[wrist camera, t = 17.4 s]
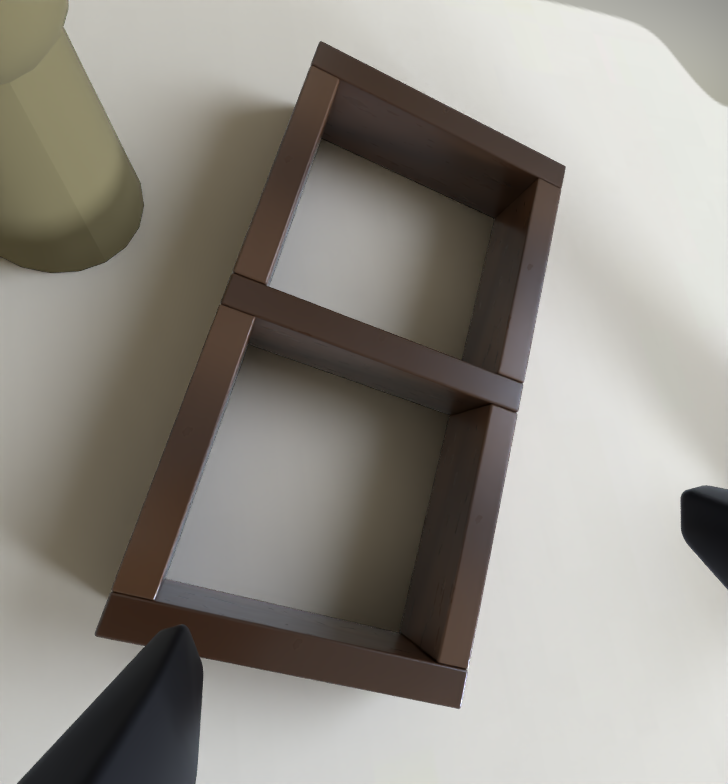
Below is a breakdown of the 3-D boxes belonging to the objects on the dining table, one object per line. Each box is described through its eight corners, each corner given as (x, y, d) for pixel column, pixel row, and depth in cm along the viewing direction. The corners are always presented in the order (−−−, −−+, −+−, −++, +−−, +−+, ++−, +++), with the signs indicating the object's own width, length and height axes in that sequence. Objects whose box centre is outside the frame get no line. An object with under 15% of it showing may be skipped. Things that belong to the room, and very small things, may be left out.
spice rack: (418, 671, 19) (461, 710, 16) (116, 606, 17) (92, 637, 13) (519, 208, 25) (566, 165, 21) (303, 105, 22) (320, 39, 19)
